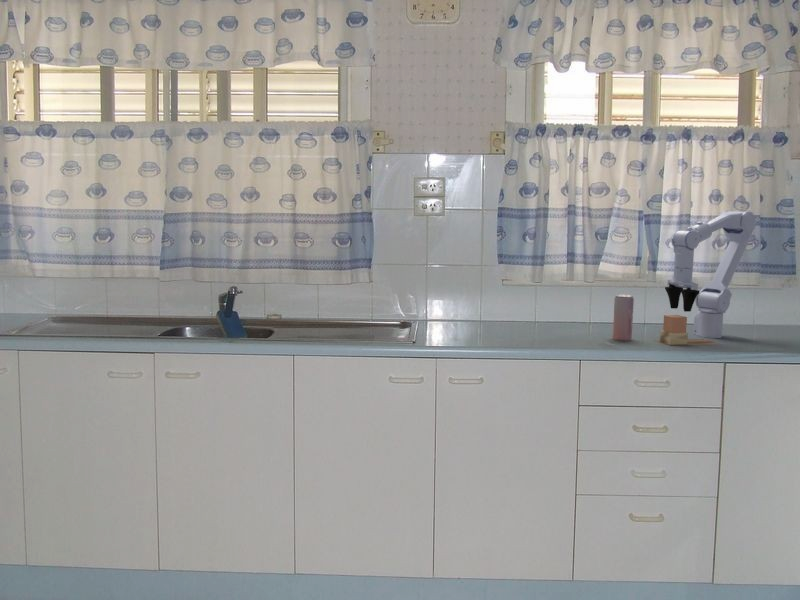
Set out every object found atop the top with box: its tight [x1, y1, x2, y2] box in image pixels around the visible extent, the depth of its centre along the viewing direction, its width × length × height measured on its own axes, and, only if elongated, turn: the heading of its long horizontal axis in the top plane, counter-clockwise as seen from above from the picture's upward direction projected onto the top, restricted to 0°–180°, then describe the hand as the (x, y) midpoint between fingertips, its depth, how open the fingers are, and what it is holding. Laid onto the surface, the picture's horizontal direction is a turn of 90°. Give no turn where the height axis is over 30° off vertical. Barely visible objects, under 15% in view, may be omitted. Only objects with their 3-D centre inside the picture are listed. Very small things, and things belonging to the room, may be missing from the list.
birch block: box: [659, 330, 689, 345], centre depth 263 cm, size 6×6×4 cm
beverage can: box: [612, 294, 635, 342], centre depth 268 cm, size 6×6×15 cm
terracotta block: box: [662, 314, 688, 333], centre depth 262 cm, size 5×5×5 cm
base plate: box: [654, 338, 720, 347], centre depth 264 cm, size 10×18×1 cm, turn 104°
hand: (680, 309), depth 269 cm, fingers open, 7 cm apart
